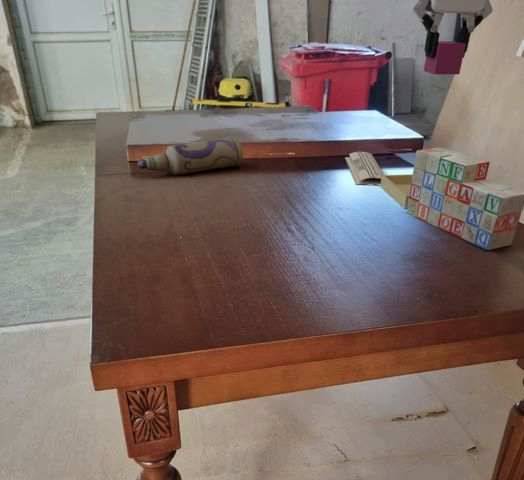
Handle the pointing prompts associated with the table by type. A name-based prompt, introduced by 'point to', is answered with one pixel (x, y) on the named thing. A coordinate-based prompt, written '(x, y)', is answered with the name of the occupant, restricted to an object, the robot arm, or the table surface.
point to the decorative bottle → (196, 157)
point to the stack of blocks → (463, 198)
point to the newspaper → (364, 168)
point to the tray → (398, 187)
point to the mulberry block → (446, 58)
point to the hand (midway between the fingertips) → (444, 55)
